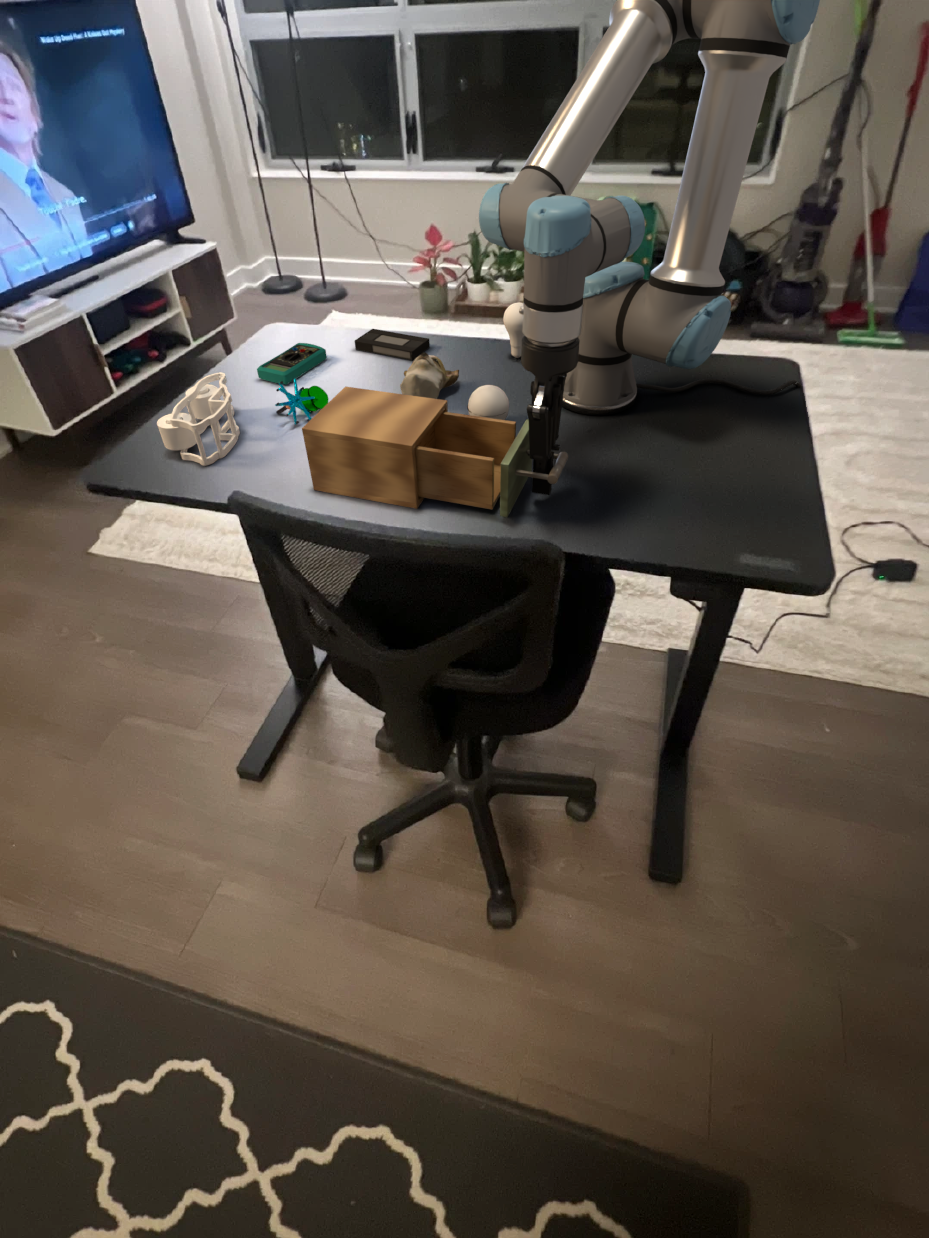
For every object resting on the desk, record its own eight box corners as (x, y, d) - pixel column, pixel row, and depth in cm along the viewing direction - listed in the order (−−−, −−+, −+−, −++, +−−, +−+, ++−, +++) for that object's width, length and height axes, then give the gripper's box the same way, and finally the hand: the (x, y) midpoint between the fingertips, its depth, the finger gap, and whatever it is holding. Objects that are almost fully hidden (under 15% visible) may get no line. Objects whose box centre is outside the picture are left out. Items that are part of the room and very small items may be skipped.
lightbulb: (497, 354, 150) (498, 301, 143) (523, 349, 152) (525, 296, 144) (510, 365, 146) (511, 310, 139) (536, 360, 148) (539, 305, 140)
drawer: (570, 477, 113) (575, 426, 107) (549, 525, 103) (553, 471, 97) (435, 455, 119) (432, 405, 112) (403, 499, 109) (399, 447, 103)
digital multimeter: (329, 359, 151) (327, 345, 149) (286, 387, 141) (283, 372, 139) (301, 353, 153) (299, 339, 151) (257, 380, 144) (254, 366, 142)
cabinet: (450, 461, 119) (447, 400, 112) (417, 509, 109) (411, 445, 101) (353, 445, 124) (345, 386, 116) (313, 490, 113) (301, 428, 106)
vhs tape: (412, 361, 149) (412, 351, 147) (355, 350, 154) (354, 341, 152) (429, 347, 154) (429, 338, 152) (373, 337, 159) (372, 328, 157)
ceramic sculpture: (385, 363, 127) (408, 336, 138) (388, 410, 132) (410, 380, 144) (443, 368, 125) (462, 340, 136) (444, 415, 130) (462, 385, 142)
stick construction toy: (291, 421, 126) (274, 378, 124) (269, 435, 130) (252, 394, 129) (339, 413, 135) (323, 373, 133) (317, 427, 139) (301, 388, 138)
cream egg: (475, 413, 131) (474, 375, 126) (513, 419, 129) (514, 380, 124) (457, 439, 124) (455, 399, 119) (497, 445, 122) (498, 405, 117)
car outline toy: (205, 408, 135) (194, 371, 130) (260, 411, 134) (251, 373, 129) (156, 463, 121) (142, 423, 116) (218, 466, 119) (206, 426, 114)
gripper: (535, 315, 97) (529, 466, 114) (508, 352, 89) (505, 510, 105) (589, 320, 96) (575, 473, 112) (567, 359, 87) (555, 519, 103)
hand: (541, 491), depth 108 cm, fingers closed
